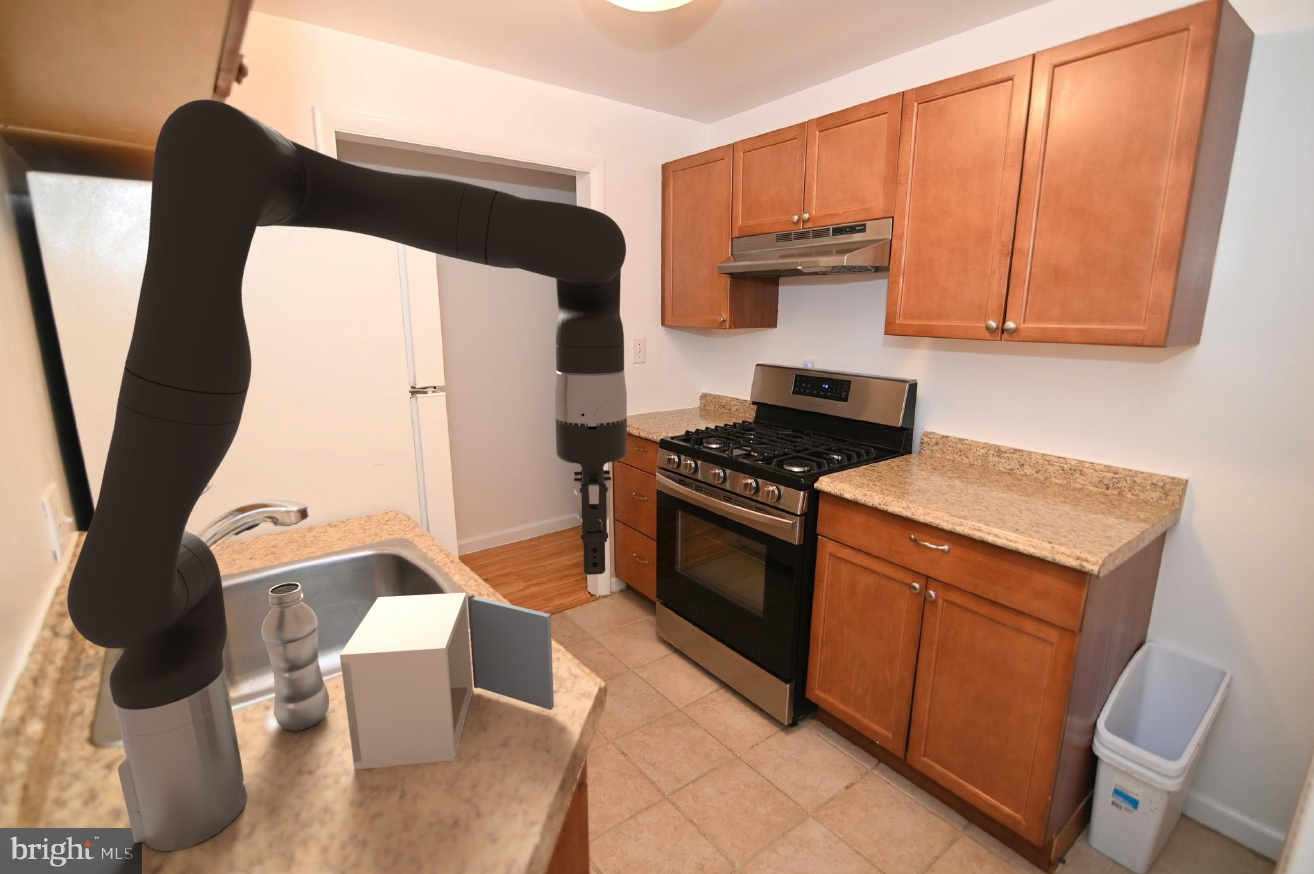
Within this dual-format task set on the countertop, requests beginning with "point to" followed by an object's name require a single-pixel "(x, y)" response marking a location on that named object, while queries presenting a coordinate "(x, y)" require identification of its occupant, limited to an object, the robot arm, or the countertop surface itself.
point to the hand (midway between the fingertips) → (593, 555)
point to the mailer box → (408, 680)
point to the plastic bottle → (294, 659)
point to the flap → (511, 651)
